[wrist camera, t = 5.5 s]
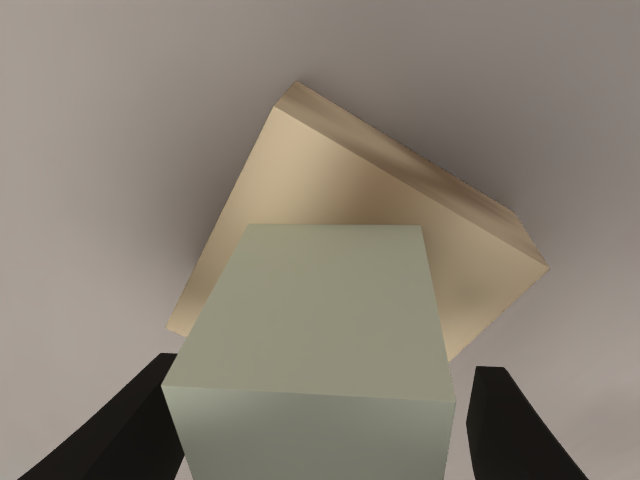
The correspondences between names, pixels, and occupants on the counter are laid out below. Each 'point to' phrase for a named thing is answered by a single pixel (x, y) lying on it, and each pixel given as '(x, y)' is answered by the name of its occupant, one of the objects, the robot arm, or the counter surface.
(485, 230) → the maple slab
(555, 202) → the counter surface
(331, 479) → the sage block
